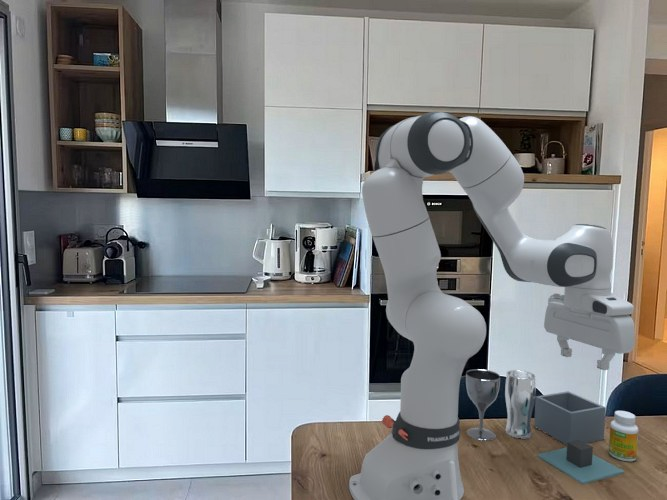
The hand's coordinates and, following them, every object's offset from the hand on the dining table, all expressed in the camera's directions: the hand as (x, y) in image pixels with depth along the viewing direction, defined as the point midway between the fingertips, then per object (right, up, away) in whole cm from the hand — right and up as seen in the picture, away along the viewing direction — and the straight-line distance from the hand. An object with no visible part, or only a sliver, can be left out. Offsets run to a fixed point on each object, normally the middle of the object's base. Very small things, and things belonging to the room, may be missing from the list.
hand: (583, 362), depth 103 cm
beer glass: (-9, -21, +14) cm, 27 cm away
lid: (-1, -23, 0) cm, 23 cm away
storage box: (+4, -21, +15) cm, 26 cm away
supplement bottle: (+11, -22, +4) cm, 25 cm away
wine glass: (-18, -21, +14) cm, 31 cm away
